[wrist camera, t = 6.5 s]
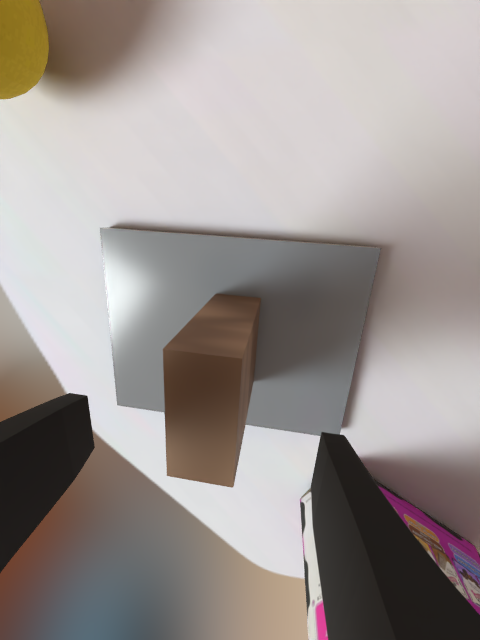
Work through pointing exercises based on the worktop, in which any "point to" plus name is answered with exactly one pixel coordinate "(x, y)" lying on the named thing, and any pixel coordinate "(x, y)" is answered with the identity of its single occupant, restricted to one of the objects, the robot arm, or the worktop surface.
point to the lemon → (21, 46)
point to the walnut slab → (210, 389)
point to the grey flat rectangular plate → (274, 320)
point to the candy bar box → (440, 542)
